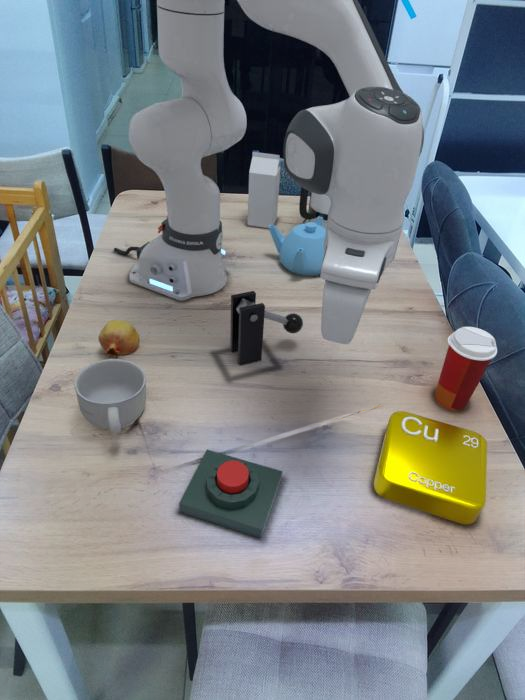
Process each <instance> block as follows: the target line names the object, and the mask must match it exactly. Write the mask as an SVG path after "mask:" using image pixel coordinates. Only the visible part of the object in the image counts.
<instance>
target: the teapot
mask: <svg viewBox="0 0 525 700" xmlns="http://www.w3.org/2000/svg"><path fill="white" fill-rule="evenodd" d="M322 224H323V217H320V216H318V217H317V219H316V222H315V223H313V222H310V221H308V222H304V224H303V223H300V224H297V225H295V226H294V227H293V228H292V229H291V230H290V231H289V232H288V234H287V235H286V236H283V234H282V233H281V231H280V230H279V228H278V227H277V225H275V224H274V225H270V226H269V228H268V230H269V233H270V236H271V238H272V241H273V243H274V246H275V248H276V251H277V253H278V258H279V261H280V263H281V264H282V265H283V267H284V268H285V269H286V270H287V271H289V272H291V273H293V274H295V275H298V276H303V277H316V276H320V274H321V267H322V262H323V258H324V241H325V234H326V229H325V228H324V227H322Z"/></svg>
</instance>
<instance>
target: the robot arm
mask: <svg viewBox="0 0 525 700" xmlns="http://www.w3.org/2000/svg"><path fill="white" fill-rule="evenodd" d="M236 2H237V3H238V5H239V6H240V8H241V9H242V11H243V12H244V14H245V15H246V16H247V17H248V19H250V20H251V21H252V22H254V23H255V24H257V25H258V26H260V27H262V28H264V29H266V30H268V31H272V32H275V33H278V34H281V35H285V36H288V37H291V38H294V39H297V40H300V41H302V42H305V43H307V44H309V45H311V46H313V47H315V48H317V49H318V50H320V51H321V52H322V53H323V54H325V55H326V56H327V57H329V59H330V60H331V62H332V63H333V64H334V67H335V69H336V70H337V72H338V74H339V77H340V79H341V81H342V83H343V86H344V87H345V89H346V91H347V93H348V96H349V97H348V98H346V99H345V100H341V101H339V102H336V103H332V104H331V103H330V104H326V105H317V106H312V107H309V108H308V107H307V108H306V109H301V110H299V111H298V112H297V113H296V114H295V115H294V117H293V118H292V120H291V121H290V123H289V124H288V127H287V130H286V132H285V134H284V140H283V148H282V152H283V153H282V154H283V155H282V156H283V165H284V168H285V171H286V173H287V174H288V175H289V176H290V178H291V179H292V180H293V181H294V182H295V183H296V184H297V185H299V187H300V188H301V187H302V188H304V189H306V190H308V192H310V193H311V192H313V193H316V194H320V195H323V194H324V195H327V196H328V197H329V198H330V200H331V206H330V209H329V213H328V220H327V227H326V234H325V241H324V258H323V262H322V267H321V274H320V275H319V276H320V279H322V280H324V284H323V285H324V286H323V292H322V303H321V319H320V320H321V322H320V334H321V337H322V339H323V340H325V341H329V342H333V343H336V344H340V345H350V344H351V343H352V341H353V339H354V337H355V334H356V333H357V330H358V327H359V324H360V321H361V319H362V315H363V313H364V310H365V308H366V304H367V302H368V300H369V296H370V294H371V291H372V290H373V291H374V290H376V288H377V286H378V284H379V283H380V279H381V277H382V276H383V273H384V272H385V271H386V270H387V268H388V267H389V266H390V264H392V262H394V260H395V258H396V253H397V250H398V246H399V242H400V237H401V234H402V230H403V225H404V222H405V221H404V220H405V208H404V207H405V202H406V200H407V198H408V196H409V194H410V192H411V191H412V189H413V185H414V181H415V178H416V174H417V169H418V165H419V160H420V157H421V154H422V152H423V147H424V143H425V130H424V125H423V124H424V122H423V112H422V111H423V110H422V108H421V106H420V105H419V104H418V103H417V102H416V101H415V99H414V98H412V97H411V96H410V95H408V94H406V93H405V92H404V91H403V90H402V88H401V87H400V85H399V83H398V80H396V77H395V75H394V73H393V71H392V68H391V67H390V64H389V62H388V60H387V57H386V56H385V54H384V52H383V50H382V47H381V46H380V43H379V41H378V39H377V36H376V35H375V33H374V30H373V28H372V26H371V24H370V22H369V20H368V18H367V16H366V14H365V12H364V10H363V8H362V6H361V4H360V2H359V1H358V0H236ZM225 3H226V1H225V0H156V16H157V17H156V18H157V38H158V39H157V41H158V42H157V43H158V55H159V58H160V60H161V62H162V63H163V65H164V66H165V67H166V68H167V69H168V70H169V71H170V72H172V73H173V74H175V75H176V76H177V77H178V79H179V82H180V88H181V96H180V97H179V98H174V99H169V100H165V101H159V102H155V103H153V104H151V105H148V106H147V107H145V108H143V109H141V110H140V111H138V112H136V113H134V114H133V116H132V117H131V118H130V121H129V125H128V141H129V144H130V147H131V150H132V152H133V154H134V155H135V157H136V158H137V159H138V160H139V161H140V162H141V163H142V164H143V165H145V166H146V167H148V168H149V169H151V170H152V171H153V172H154V173H155V174H156V175H157V176H158V178H159V180H160V183H161V184H162V187H163V190H164V195H165V202H166V211H167V214H166V219H164V220H163V221H162V222H161V224H160V225H159V226H158V228H157V230H158V231H157V234H160V233H161V234H160V235H158V236H157V237H155V238H153V239H152V240H150V241H148V242H146V243H145V244H143V245H141V246H129V247H127V249H126V250H122V249H120V248H117V247H114V248H113V251H114V252H115V253H117V254H120V255H122V256H128V255H129V254H130V253H131V252H132V251H135V252H136V259H137V260H138V261H137V262H136V263H135V264H134V265H133V266H132V268H131V270H130V271H129V276H128V277H129V282H130V283H132V284H134V285H136V286H140V287H142V288H145V289H146V290H147V289H148V290H150V291H153V292H155V293H158V294H161V295H163V296H166V297H169V298H171V299H174V300H177V301H181V302H182V301H187V300H189V299H192V298H195V297H203V296H208V295H212V294H214V293H217V292H219V291H220V290H222V289H223V288H224V287H225V286H226V285H227V283H228V275H227V273H226V270H225V266H224V259H223V255H224V256H225V255H226V250H224V249H222V247H223V239H224V238H223V237H224V236H223V235H224V234H223V223H222V220H221V191H220V189H219V186H218V185H217V183H216V182H215V181H214V180H213V179H212V178H210V177H209V176H207V175H204V173H203V169H202V165H201V164H202V159H203V158H205V157H209V156H211V155H215V154H218V153H221V152H224V151H226V150H228V149H230V148H231V147H233V146H234V145H235V144H237V143H238V142H240V141H241V140H242V139H243V137H244V136H245V134H246V131H247V125H248V123H247V120H248V119H247V113H246V110H245V107H244V105H243V103H242V102H241V100H240V99H239V98H238V96H236V95H235V94H234V92H233V91H232V89H231V87H230V85H229V81H228V78H227V74H226V69H225V59H224V58H225V57H224V48H225V47H224V46H225V45H224V43H225V42H224V40H225V39H224V38H225V37H224V34H225Z"/></svg>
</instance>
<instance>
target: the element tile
mask: <svg viewBox="0 0 525 700" xmlns="http://www.w3.org/2000/svg"><path fill="white" fill-rule="evenodd" d="M387 423H388V424H387V425H386V429H385V433H384V437H383V441H382V446H381V450H380V455H379V459H378V463H377V467H376V471H375V476H374V480H373V489H374V491H375V493H376V494H377V495H378V496H380V498H383V499H385V500H387V501H391V502H394V503H397V504H400V505H403V506H406V507H409V508H412V509H415V510H418V511H421V512H424V513H427V514H430V515H433V516H436V517H438V518H441V519H445V520H448V521H451V522H454V523H458V524H461V525H471V524H473V523H475V521H476V520H477V519H478V517H479V515H480V514H481V512H482V510H483V508H484V507H485V505H486V501H487V500H486V499H487V464H488V463H487V462H488V461H487V459H488V443H487V440H486V438H485V437H484V436H483V435H482V434H480V433H478V432H477V431H474V430H471V429H467V428H463V427H460V426H456V425H454V424H449V423H446V422H443V421H439V420H435V419H432V418H429V417H425V416H421V415H418V414H414V413H413V412H409V411H404V410H403V411H402V410H397V411H394V412H393V413H392V414H391V415H390V417H389V419H388V422H387Z"/></svg>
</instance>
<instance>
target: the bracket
mask: <svg viewBox="0 0 525 700" xmlns="http://www.w3.org/2000/svg"><path fill="white" fill-rule="evenodd" d="M242 298H243V299H246V300H249V301H252V302H255V305H250V306H245V307H240V308H239V313H238V312H237V310H236V308H237V306H238V305H239V303H240V301H241V300H242ZM265 311H266V305H265V304H264V303H263V302H261V303H257V293H256V291H255V290H251V291H246V292H239V293H235V294H231V295H230V333H229V334H230V339H229V340H230V343H229V345H230V346H229V350H230V352H231V353H232V354H233V353H236V352H237V364H238V365H239V366H245V365H249V364H252V363H257V362H261V361H262V360H263V359H262V357H263V344H264V343H263V342H264V329H265V327H264V326H265V318H264V314H265Z"/></svg>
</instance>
